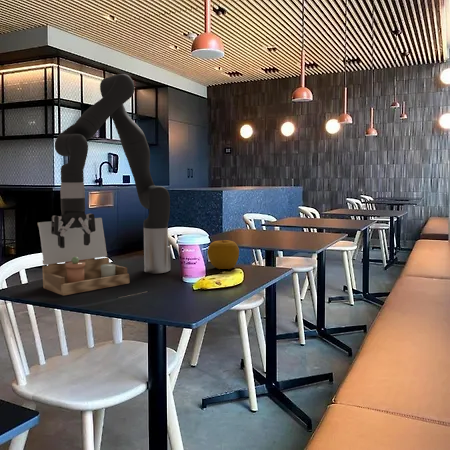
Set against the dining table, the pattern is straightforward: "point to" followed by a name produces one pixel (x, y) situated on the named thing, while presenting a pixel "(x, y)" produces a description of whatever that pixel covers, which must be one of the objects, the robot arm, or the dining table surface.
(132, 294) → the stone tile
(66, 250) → the lid
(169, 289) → the dining table surface
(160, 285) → the dining table surface
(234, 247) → the apple
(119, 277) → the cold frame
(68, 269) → the terracotta pot
